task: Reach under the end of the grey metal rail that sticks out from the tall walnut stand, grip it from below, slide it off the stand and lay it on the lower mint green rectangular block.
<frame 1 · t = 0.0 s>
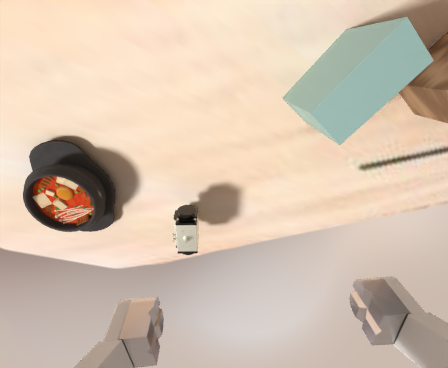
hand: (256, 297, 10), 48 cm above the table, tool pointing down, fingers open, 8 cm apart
mint green rectangular block: (324, 79, 51), on the table
pneumatic valve: (188, 211, 65), on the table
stand: (441, 65, 51), on the table
casserole: (79, 186, 60), on the table
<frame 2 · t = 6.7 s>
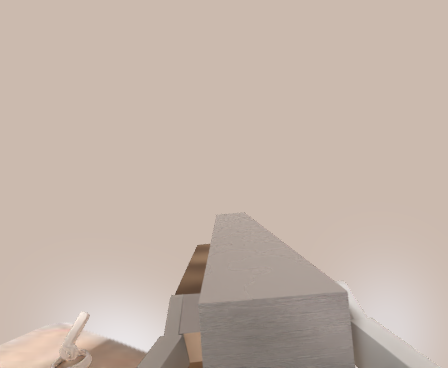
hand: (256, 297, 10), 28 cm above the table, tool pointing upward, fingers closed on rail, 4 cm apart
rail: (241, 274, 20), point 26 cm above the table, touching gripper, stand
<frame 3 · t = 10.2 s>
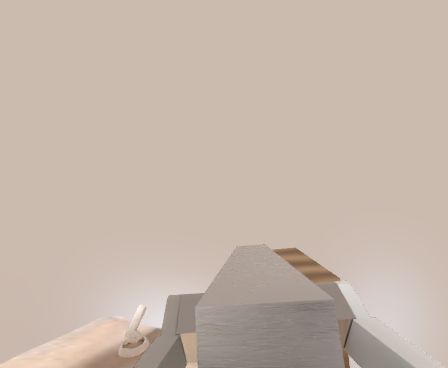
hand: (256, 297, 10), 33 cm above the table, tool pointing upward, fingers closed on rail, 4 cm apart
rail: (257, 305, 20), point 28 cm above the table, tilted 8°, touching gripper
hook: (134, 348, 63), on the table
when the fingers open (21 cm above the table, at t = 13.8 s): rail stays where it is, resting on mint green rectangular block.
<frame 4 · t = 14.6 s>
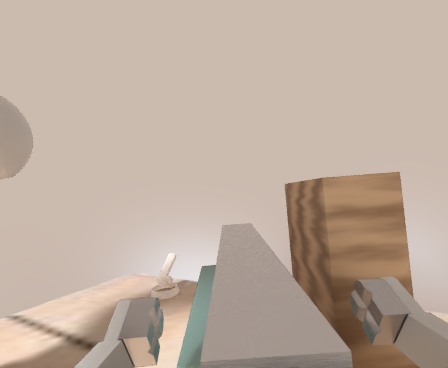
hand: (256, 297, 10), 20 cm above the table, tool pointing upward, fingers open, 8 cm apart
rail: (246, 293, 20), point 16 cm above the table, touching mint green rectangular block
hook: (165, 294, 64), on the table
stand: (344, 340, 39), on the table
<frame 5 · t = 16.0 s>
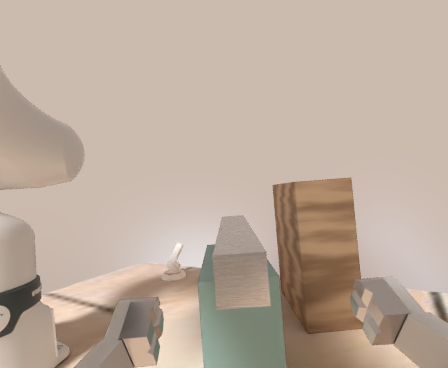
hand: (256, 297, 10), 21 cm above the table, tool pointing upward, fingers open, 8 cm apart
rail: (236, 257, 32), point 16 cm above the table, touching mint green rectangular block
hook: (174, 277, 76), on the table
stand: (316, 306, 50), on the table
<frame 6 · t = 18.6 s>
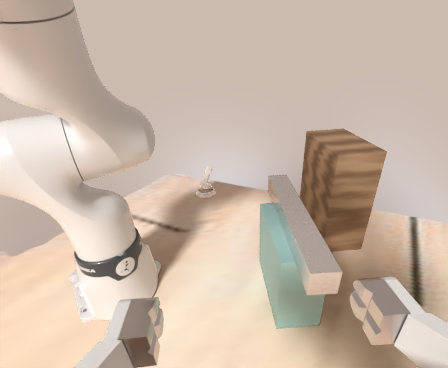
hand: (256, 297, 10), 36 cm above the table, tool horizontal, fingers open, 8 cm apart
rail: (293, 228, 44), point 16 cm above the table, touching mint green rectangular block
mint green rectangular block: (285, 288, 52), on the table
hook: (206, 193, 92), on the table
stand: (326, 228, 69), on the table
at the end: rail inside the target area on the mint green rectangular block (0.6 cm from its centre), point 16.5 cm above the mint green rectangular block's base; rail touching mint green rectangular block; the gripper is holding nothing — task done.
